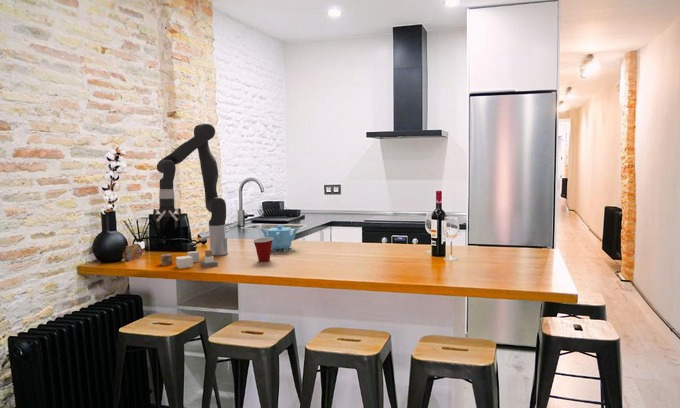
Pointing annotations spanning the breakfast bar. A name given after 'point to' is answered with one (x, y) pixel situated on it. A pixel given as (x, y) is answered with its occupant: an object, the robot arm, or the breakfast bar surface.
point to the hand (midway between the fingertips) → (167, 228)
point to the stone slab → (132, 252)
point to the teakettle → (280, 237)
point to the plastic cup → (263, 248)
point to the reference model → (209, 259)
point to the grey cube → (194, 255)
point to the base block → (184, 262)
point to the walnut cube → (166, 259)
